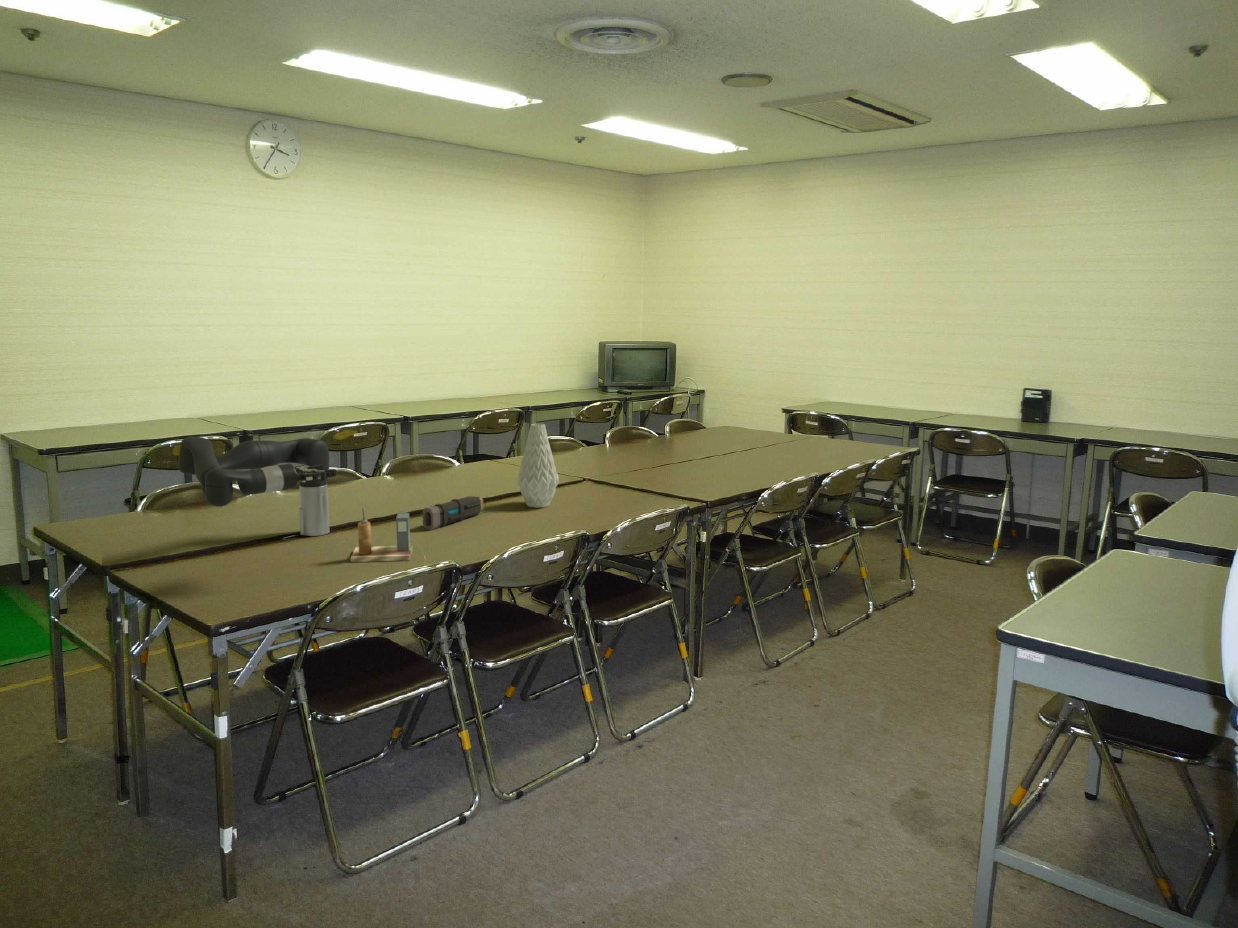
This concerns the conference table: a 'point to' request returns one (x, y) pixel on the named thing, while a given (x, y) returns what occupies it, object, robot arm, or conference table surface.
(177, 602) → the conference table surface
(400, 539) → the block
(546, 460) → the vase
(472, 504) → the tube
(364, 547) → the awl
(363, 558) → the board
